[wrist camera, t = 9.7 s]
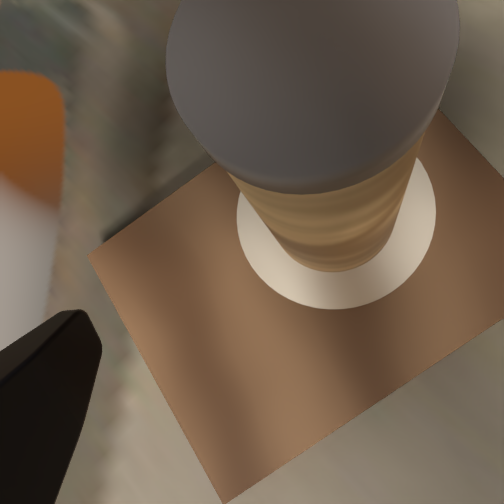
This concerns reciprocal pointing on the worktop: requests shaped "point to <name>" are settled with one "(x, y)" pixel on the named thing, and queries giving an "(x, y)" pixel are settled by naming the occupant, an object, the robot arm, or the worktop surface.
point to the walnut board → (302, 308)
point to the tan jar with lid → (314, 109)
